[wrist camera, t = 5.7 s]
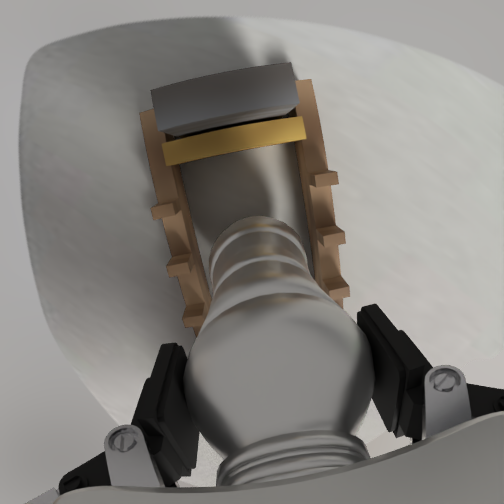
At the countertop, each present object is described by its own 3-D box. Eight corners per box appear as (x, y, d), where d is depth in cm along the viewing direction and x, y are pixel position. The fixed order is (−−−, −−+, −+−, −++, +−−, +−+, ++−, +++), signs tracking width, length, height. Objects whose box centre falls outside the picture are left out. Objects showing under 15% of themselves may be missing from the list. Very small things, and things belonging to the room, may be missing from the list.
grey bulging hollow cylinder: (194, 245, 23) (91, 506, 4) (267, 191, 22) (402, 396, 3) (245, 306, 25) (259, 566, 6) (315, 258, 24) (456, 492, 5)
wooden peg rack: (336, 334, 28) (367, 397, 20) (212, 358, 28) (205, 428, 20) (302, 87, 21) (337, 54, 13) (150, 117, 22) (105, 99, 13)
